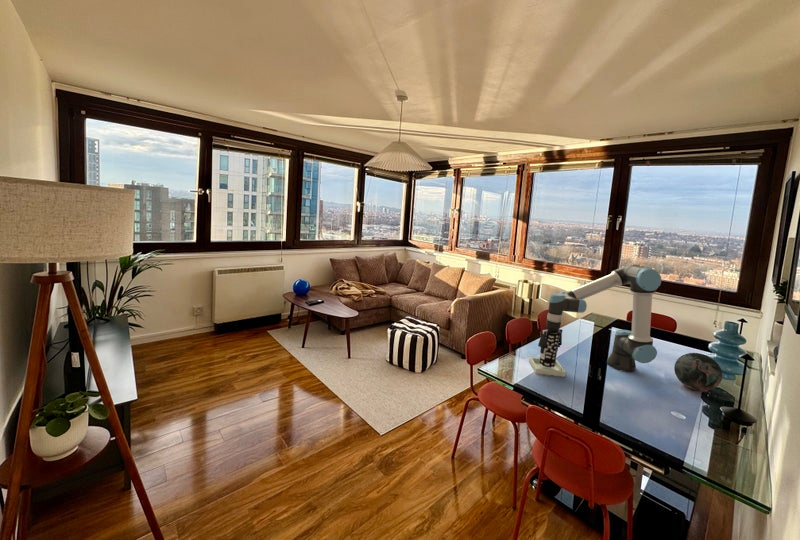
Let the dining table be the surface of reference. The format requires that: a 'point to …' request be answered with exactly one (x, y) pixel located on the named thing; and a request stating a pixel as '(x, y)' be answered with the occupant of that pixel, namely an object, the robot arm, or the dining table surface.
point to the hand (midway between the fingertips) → (548, 357)
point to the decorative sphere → (698, 371)
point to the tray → (547, 368)
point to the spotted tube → (550, 349)
